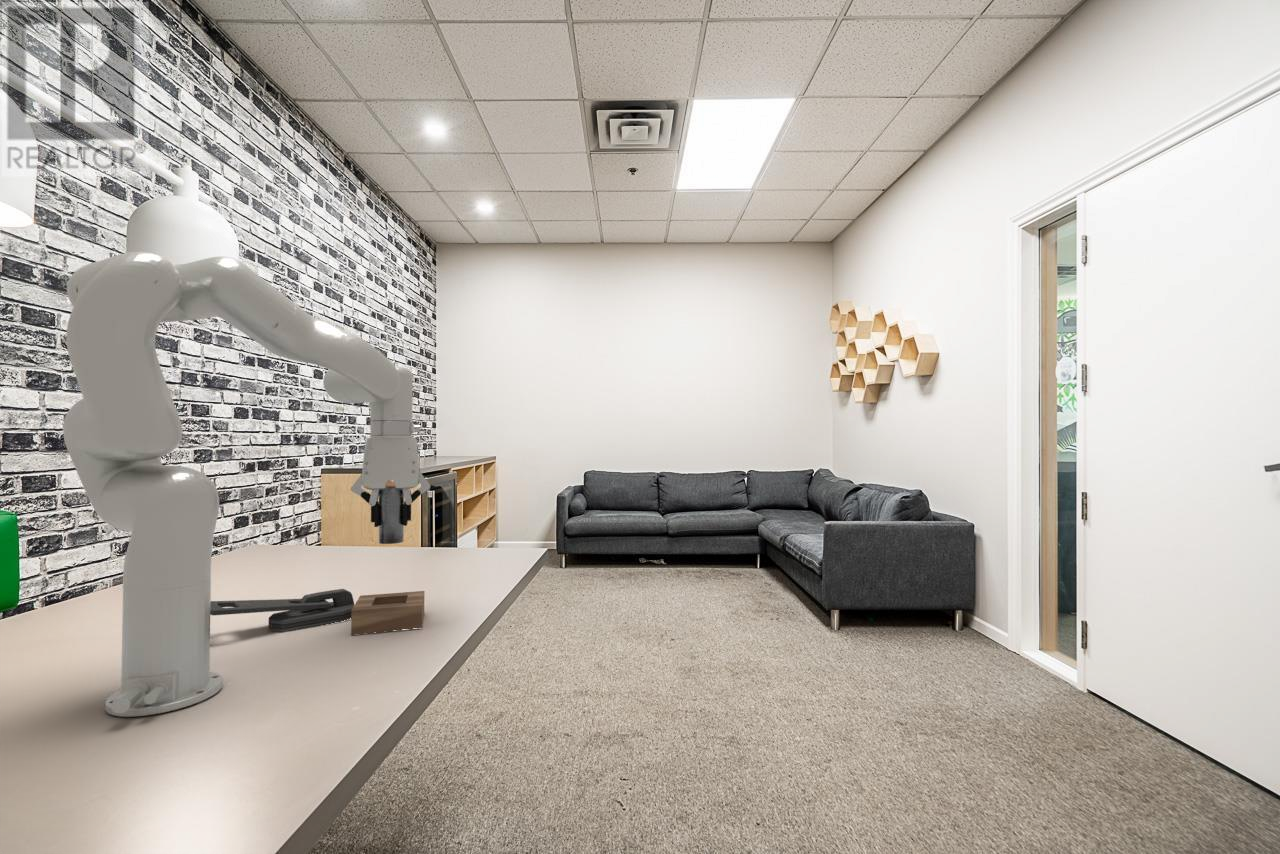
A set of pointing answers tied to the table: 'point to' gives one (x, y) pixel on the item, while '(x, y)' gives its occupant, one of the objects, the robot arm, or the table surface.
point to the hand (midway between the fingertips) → (391, 524)
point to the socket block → (387, 612)
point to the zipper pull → (294, 610)
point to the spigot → (391, 514)
